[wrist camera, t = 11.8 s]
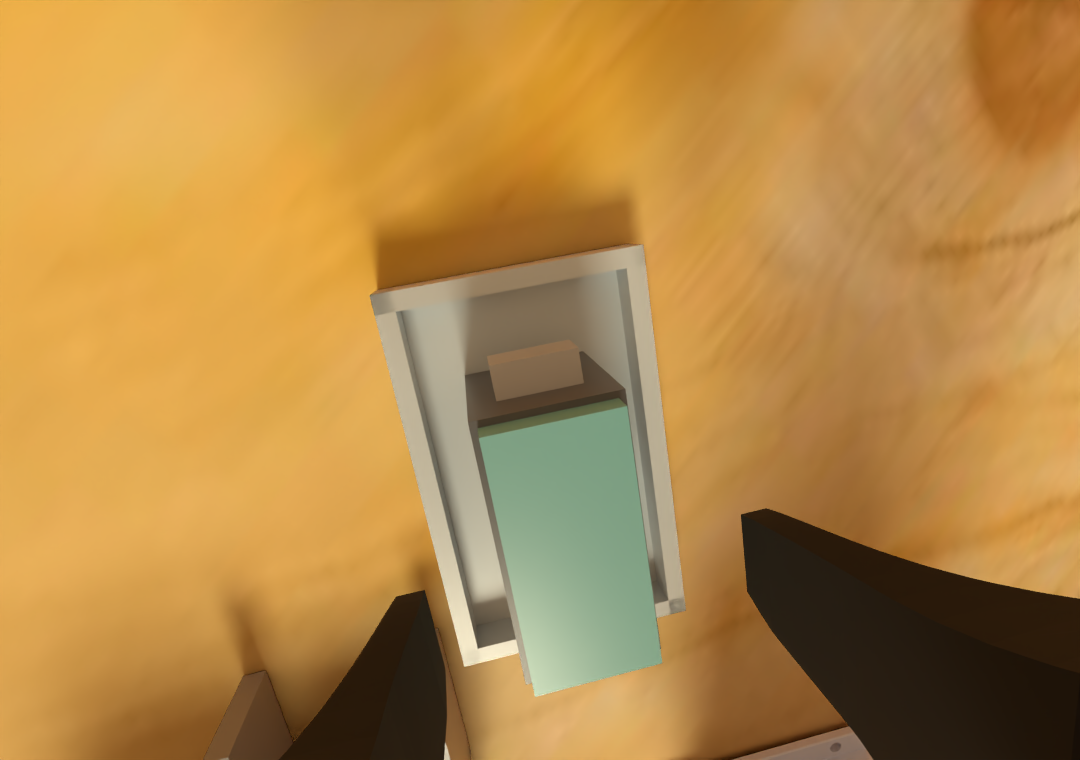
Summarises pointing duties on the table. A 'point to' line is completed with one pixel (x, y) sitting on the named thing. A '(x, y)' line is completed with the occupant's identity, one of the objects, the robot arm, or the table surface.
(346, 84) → the table surface
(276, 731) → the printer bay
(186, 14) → the table surface
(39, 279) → the table surface
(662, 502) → the tray
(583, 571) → the mint green tabbed block
